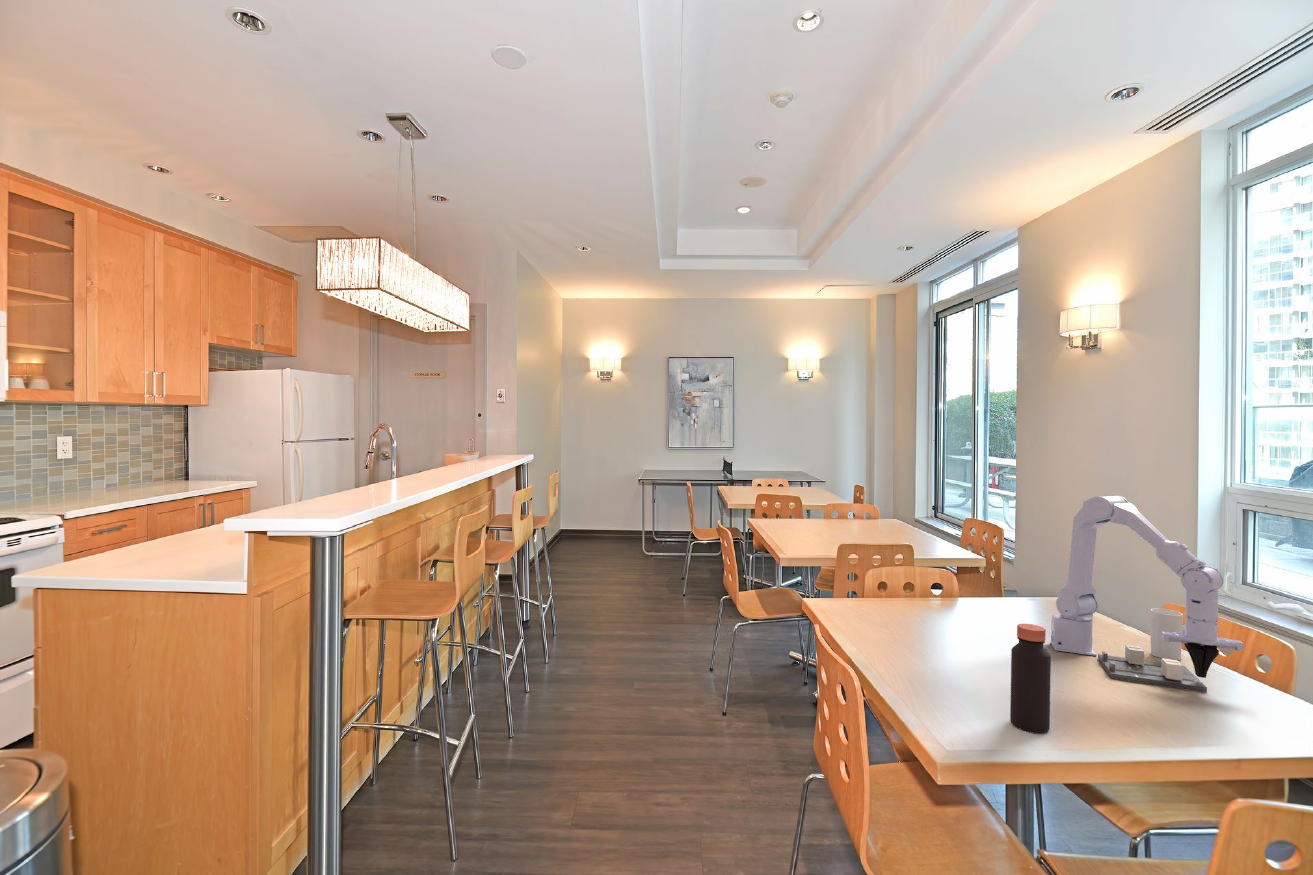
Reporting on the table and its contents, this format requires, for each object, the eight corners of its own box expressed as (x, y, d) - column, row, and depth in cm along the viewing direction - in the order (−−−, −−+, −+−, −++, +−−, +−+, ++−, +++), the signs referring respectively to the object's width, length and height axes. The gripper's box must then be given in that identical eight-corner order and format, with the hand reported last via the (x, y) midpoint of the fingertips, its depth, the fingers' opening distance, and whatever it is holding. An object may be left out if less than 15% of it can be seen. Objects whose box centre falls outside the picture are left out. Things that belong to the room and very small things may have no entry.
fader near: (1166, 678, 146) (1166, 663, 146) (1161, 672, 150) (1161, 657, 150) (1182, 680, 145) (1182, 665, 145) (1177, 674, 148) (1177, 659, 148)
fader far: (1129, 663, 156) (1129, 649, 156) (1125, 658, 159) (1125, 644, 159) (1143, 665, 154) (1144, 650, 154) (1139, 660, 158) (1139, 646, 158)
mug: (1185, 662, 161) (1186, 616, 161) (1153, 658, 164) (1154, 613, 164) (1173, 650, 170) (1174, 607, 170) (1143, 646, 173) (1144, 604, 173)
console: (1111, 678, 149) (1111, 666, 149) (1097, 658, 163) (1098, 647, 163) (1207, 692, 142) (1207, 680, 142) (1184, 670, 155) (1184, 659, 155)
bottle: (1035, 718, 127) (1036, 621, 127) (1057, 734, 120) (1059, 632, 120) (1003, 718, 127) (1004, 621, 127) (1023, 734, 120) (1025, 632, 120)
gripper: (1168, 618, 144) (1167, 676, 144) (1249, 627, 138) (1248, 687, 138) (1158, 610, 151) (1158, 666, 151) (1236, 619, 144) (1235, 677, 145)
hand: (1200, 675), depth 145 cm, fingers closed
